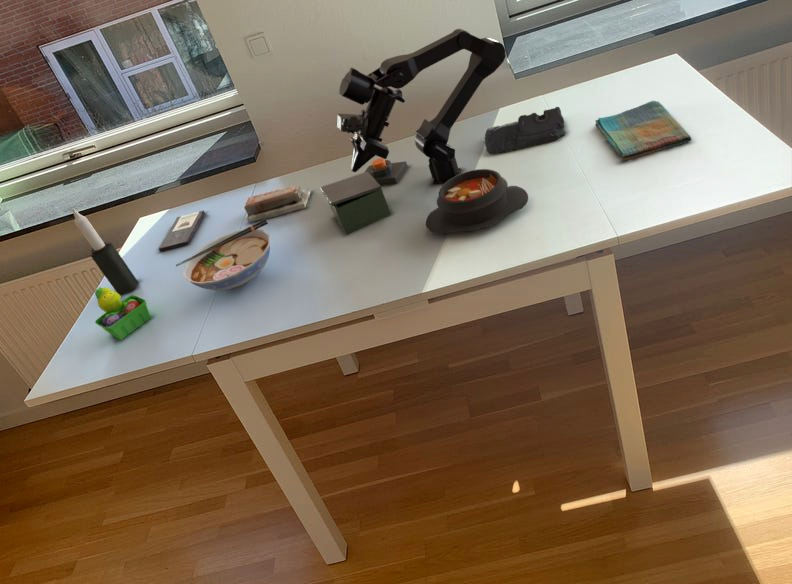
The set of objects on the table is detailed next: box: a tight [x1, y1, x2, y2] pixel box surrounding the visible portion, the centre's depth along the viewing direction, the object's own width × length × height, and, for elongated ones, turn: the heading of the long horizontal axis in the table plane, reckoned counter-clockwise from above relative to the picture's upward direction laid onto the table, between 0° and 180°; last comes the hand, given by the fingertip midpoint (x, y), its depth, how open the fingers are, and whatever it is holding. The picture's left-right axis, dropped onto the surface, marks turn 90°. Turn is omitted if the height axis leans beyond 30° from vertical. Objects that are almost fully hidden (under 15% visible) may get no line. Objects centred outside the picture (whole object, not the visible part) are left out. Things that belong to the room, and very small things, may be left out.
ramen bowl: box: [176, 218, 271, 292], centre depth 174 cm, size 25×23×8 cm
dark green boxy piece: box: [327, 188, 392, 235], centre depth 181 cm, size 13×12×7 cm
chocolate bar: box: [158, 210, 206, 252], centre depth 208 cm, size 9×1×18 cm
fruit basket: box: [94, 286, 152, 341], centre depth 170 cm, size 11×9×11 cm
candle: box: [71, 207, 139, 296], centre depth 182 cm, size 5×5×25 cm
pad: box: [364, 159, 409, 186], centre depth 197 cm, size 12×9×4 cm
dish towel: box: [594, 100, 692, 162], centre depth 174 cm, size 17×23×2 cm
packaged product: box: [243, 184, 312, 223], centre depth 200 cm, size 18×5×10 cm
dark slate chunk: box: [484, 106, 566, 155], centre depth 191 cm, size 15×22×5 cm
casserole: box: [425, 168, 529, 235], centre depth 164 cm, size 25×19×8 cm
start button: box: [371, 157, 386, 170], centre depth 196 cm, size 4×4×2 cm
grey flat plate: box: [319, 171, 382, 206], centre depth 178 cm, size 13×12×1 cm
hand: (353, 171), depth 176 cm, fingers closed
